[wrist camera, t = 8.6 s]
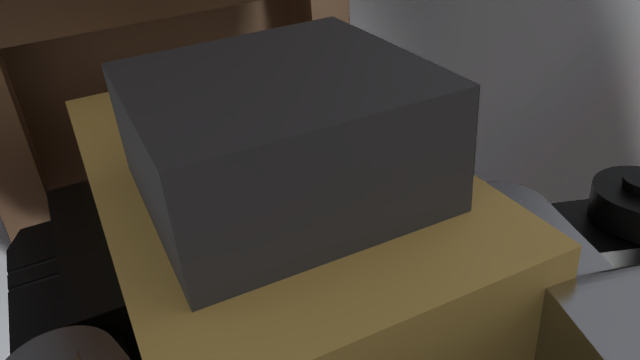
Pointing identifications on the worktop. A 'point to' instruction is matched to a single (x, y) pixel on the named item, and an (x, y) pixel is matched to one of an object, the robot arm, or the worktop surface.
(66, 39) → the rail
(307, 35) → the yellow and grey box
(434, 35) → the worktop surface
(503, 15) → the worktop surface
